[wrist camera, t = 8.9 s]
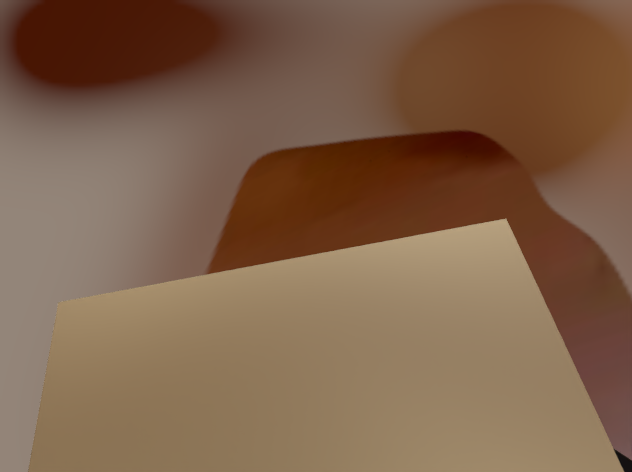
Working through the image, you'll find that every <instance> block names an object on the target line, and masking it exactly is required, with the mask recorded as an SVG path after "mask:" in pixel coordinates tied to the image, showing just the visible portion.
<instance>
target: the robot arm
mask: <svg viewBox="0 0 632 472" xmlns="http://www.w3.org/2000/svg"><path fill="white" fill-rule="evenodd" d="M614 451H615V453H616V455H617V458H618V460H619V462H620V464H621V466H622V468H623V470H624V472H632V460H630V459H629V458H627V457H626V456H624V455H623V454H621V453H620V452H618V451H617V450H615V449H614Z"/></svg>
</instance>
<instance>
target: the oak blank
mask: <svg viewBox="0 0 632 472" xmlns="http://www.w3.org/2000/svg"><path fill="white" fill-rule="evenodd" d="M28 472H624V470H623V468H622V466H621V464H620V462H619V460H618V458H617V455H616V453H615V451H614V449H613V447H612V445H611V443H610V440H609V438H608V436H607V434H606V432H605V430H604V428H603V425H602V423H601V421H600V419H599V417H598V415H597V413H596V410H595V408H594V406H593V404H592V402H591V400H590V398H589V395H588V393H587V391H586V389H585V387H584V385H583V383H582V380H581V378H580V376H579V374H578V372H577V370H576V368H575V365H574V363H573V361H572V359H571V357H570V355H569V353H568V350H567V348H566V346H565V344H564V342H563V340H562V337H561V335H560V333H559V331H558V329H557V327H556V325H555V322H554V320H553V318H552V316H551V314H550V312H549V310H548V307H547V305H546V303H545V301H544V299H543V297H542V295H541V292H540V290H539V288H538V286H537V284H536V282H535V280H534V277H533V275H532V273H531V271H530V269H529V267H528V265H527V262H526V260H525V258H524V256H523V254H522V252H521V250H520V247H519V245H518V243H517V241H516V239H515V237H514V235H513V232H512V230H511V228H510V226H509V224H508V222H507V220H506V219H502V220H497V221H491V222H486V223H481V224H475V225H470V226H465V227H459V228H454V229H449V230H443V231H438V232H433V233H427V234H422V235H416V236H411V237H406V238H400V239H395V240H390V241H384V242H379V243H374V244H368V245H363V246H358V247H352V248H347V249H341V250H336V251H331V252H325V253H320V254H315V255H309V256H304V257H299V258H293V259H288V260H283V261H277V262H272V263H266V264H261V265H256V266H250V267H245V268H240V269H234V270H229V271H224V272H218V273H213V274H208V275H202V276H197V277H192V278H186V279H181V280H175V281H170V282H165V283H159V284H154V285H149V286H143V287H138V288H133V289H127V290H122V291H117V292H112V293H106V294H100V295H95V296H90V297H84V298H79V299H74V300H68V301H63V302H59V303H58V308H57V314H56V319H55V324H54V330H53V335H52V341H51V347H50V352H49V358H48V364H47V369H46V375H45V380H44V386H43V391H42V397H41V403H40V408H39V414H38V419H37V425H36V430H35V436H34V442H33V447H32V453H31V459H30V465H29V469H28Z"/></svg>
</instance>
